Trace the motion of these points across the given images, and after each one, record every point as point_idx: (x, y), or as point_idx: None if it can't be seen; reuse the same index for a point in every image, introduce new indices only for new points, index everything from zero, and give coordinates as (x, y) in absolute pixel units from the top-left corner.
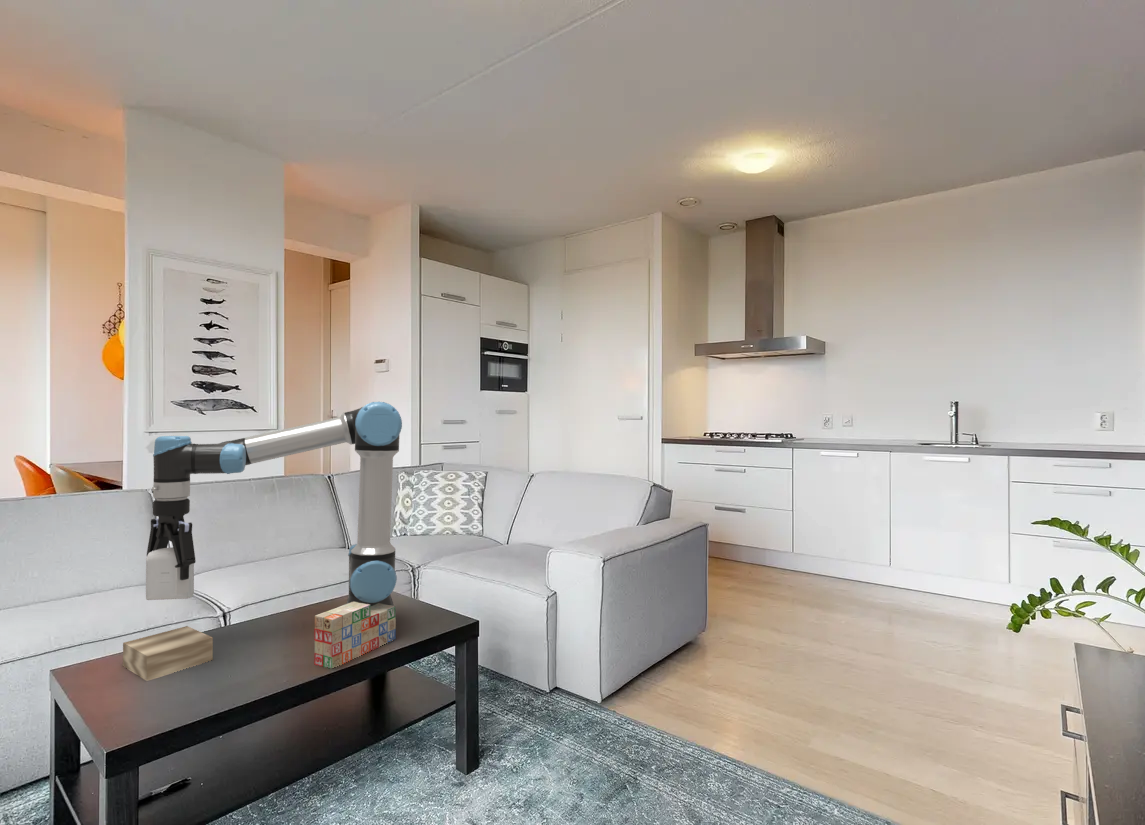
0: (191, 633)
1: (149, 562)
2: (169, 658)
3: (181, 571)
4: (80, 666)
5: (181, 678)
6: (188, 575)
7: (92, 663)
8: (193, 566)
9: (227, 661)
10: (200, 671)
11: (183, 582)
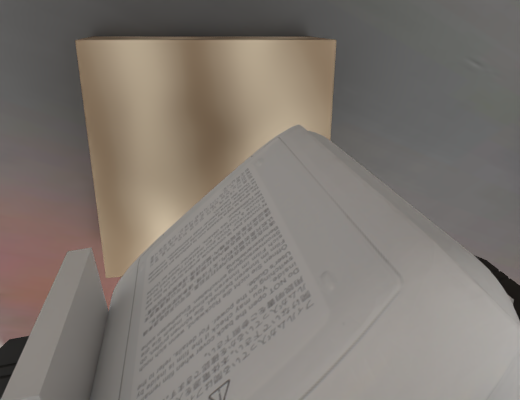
0: (208, 74)
1: None
2: None
3: None
4: (12, 316)
5: (365, 160)
6: (495, 270)
7: (9, 290)
8: (407, 206)
9: (362, 8)
10: (364, 104)
11: None
